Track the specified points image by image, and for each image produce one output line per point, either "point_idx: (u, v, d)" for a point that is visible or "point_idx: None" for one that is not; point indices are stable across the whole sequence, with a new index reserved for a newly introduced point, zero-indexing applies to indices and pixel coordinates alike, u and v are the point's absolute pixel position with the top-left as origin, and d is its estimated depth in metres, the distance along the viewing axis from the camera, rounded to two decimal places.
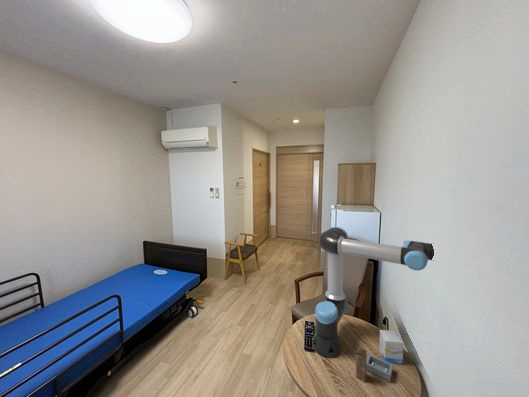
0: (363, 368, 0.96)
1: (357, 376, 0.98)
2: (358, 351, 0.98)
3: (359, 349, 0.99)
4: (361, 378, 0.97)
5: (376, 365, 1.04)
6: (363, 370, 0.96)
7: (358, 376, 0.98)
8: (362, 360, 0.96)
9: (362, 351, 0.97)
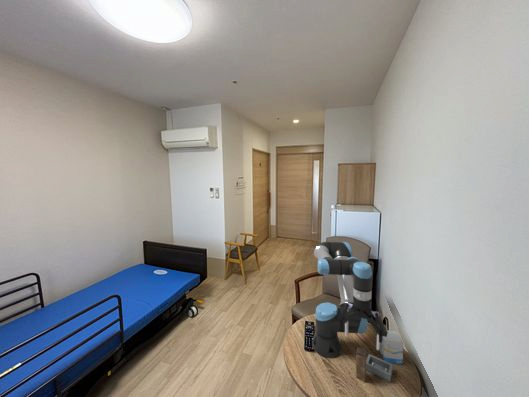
0: (363, 368, 0.96)
1: (357, 376, 0.98)
2: (358, 351, 0.98)
3: (359, 349, 0.99)
4: (361, 378, 0.97)
5: (376, 365, 1.04)
6: (363, 370, 0.96)
7: (358, 376, 0.98)
8: (362, 360, 0.96)
9: (362, 351, 0.98)
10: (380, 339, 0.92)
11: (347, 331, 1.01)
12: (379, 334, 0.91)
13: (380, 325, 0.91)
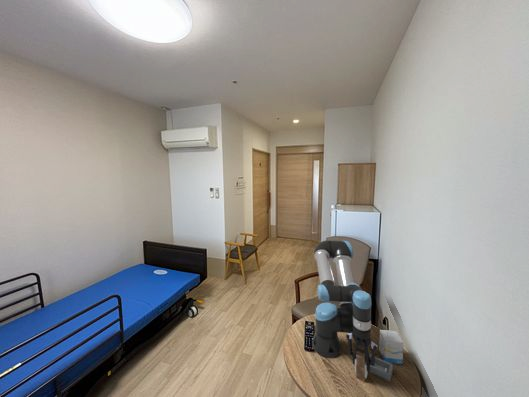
0: (363, 368, 0.96)
1: (357, 376, 0.98)
2: (358, 351, 0.98)
3: (359, 349, 0.99)
4: (361, 378, 0.97)
5: (376, 365, 1.04)
6: (363, 370, 0.96)
7: (358, 376, 0.98)
8: (362, 360, 0.96)
9: (362, 351, 0.97)
10: (368, 368, 0.96)
11: None
12: (367, 363, 0.95)
13: (373, 356, 0.94)
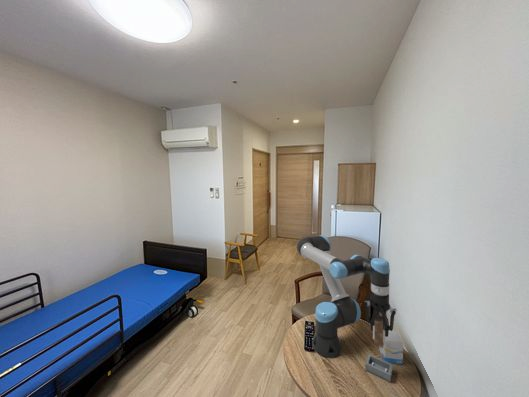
0: (381, 334, 0.97)
1: (375, 342, 0.99)
2: (376, 317, 0.99)
3: (377, 316, 1.00)
4: (379, 344, 0.98)
5: (376, 365, 1.04)
6: (381, 336, 0.97)
7: (376, 343, 0.99)
8: (380, 326, 0.98)
9: (380, 317, 0.99)
10: (386, 333, 0.97)
11: None
12: (385, 328, 0.97)
13: (391, 321, 0.95)
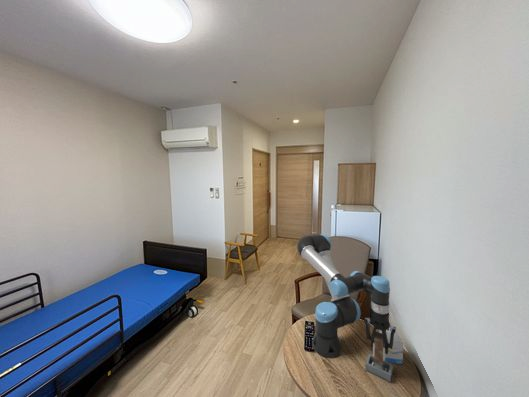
0: (381, 351, 0.98)
1: (375, 359, 1.00)
2: (376, 335, 1.00)
3: (377, 333, 1.01)
4: (379, 361, 0.99)
5: (376, 365, 1.04)
6: (381, 353, 0.99)
7: (376, 360, 1.00)
8: (380, 344, 0.99)
9: (380, 335, 1.00)
10: (386, 351, 0.98)
11: None
12: (385, 346, 0.98)
13: (391, 339, 0.96)
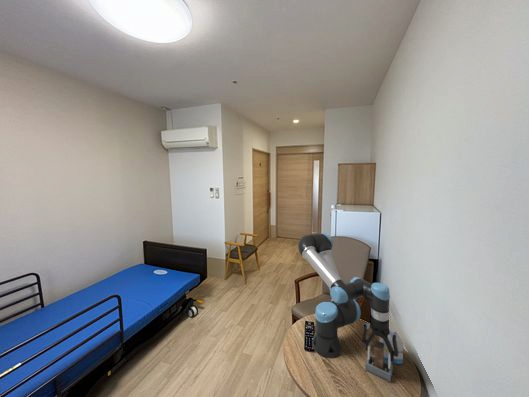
0: (381, 360, 0.99)
1: None
2: (376, 344, 1.01)
3: (377, 342, 1.02)
4: None
5: None
6: (381, 362, 0.99)
7: None
8: (380, 353, 0.99)
9: (380, 344, 1.00)
10: (391, 358, 0.97)
11: (370, 354, 1.04)
12: (391, 354, 0.97)
13: (394, 346, 0.95)
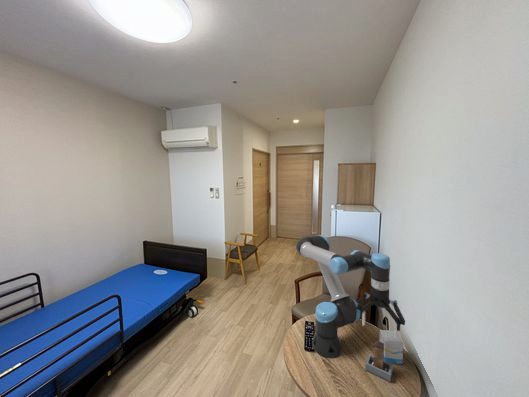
0: (381, 360, 0.99)
1: None
2: (376, 344, 1.01)
3: (377, 342, 1.02)
4: None
5: None
6: (381, 362, 0.99)
7: None
8: (380, 353, 0.99)
9: (380, 344, 1.00)
10: (398, 327, 0.95)
11: (364, 320, 1.04)
12: (397, 322, 0.94)
13: (398, 314, 0.94)
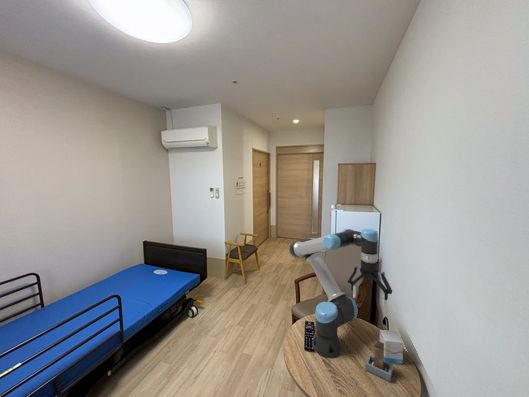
0: (381, 360, 0.99)
1: None
2: (376, 344, 1.01)
3: (377, 342, 1.02)
4: None
5: None
6: (381, 362, 0.99)
7: None
8: (380, 353, 0.99)
9: (380, 344, 1.00)
10: (386, 297, 1.01)
11: (355, 293, 1.11)
12: (385, 292, 1.01)
13: (386, 284, 1.01)
